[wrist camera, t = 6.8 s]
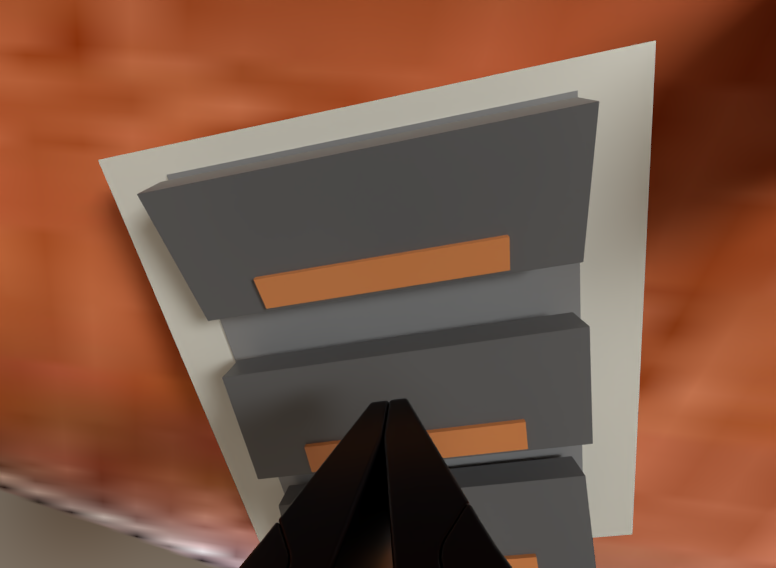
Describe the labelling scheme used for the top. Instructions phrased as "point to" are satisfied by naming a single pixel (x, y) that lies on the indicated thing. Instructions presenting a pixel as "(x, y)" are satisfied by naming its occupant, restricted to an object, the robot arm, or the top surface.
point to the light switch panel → (446, 301)
